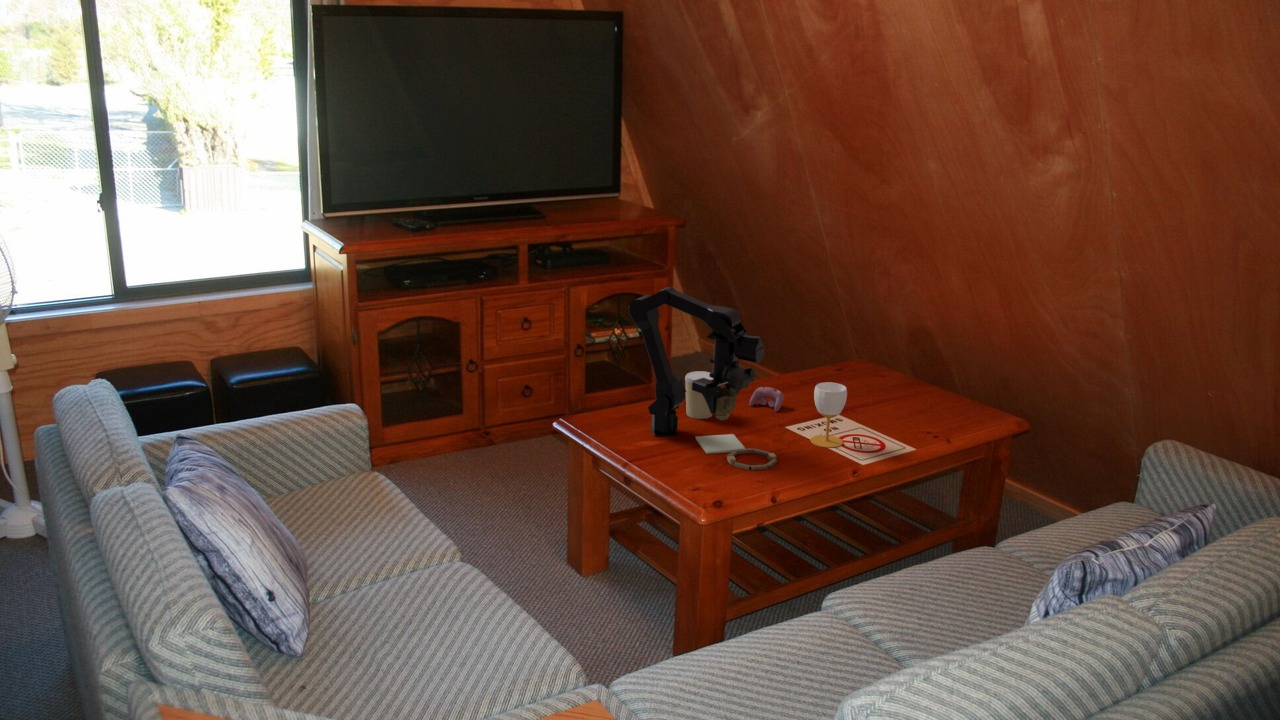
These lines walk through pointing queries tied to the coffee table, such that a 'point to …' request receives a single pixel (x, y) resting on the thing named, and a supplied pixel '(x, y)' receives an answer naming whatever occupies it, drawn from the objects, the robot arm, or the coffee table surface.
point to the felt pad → (719, 443)
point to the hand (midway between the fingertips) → (721, 410)
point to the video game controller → (767, 392)
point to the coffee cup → (696, 397)
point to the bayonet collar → (770, 456)
